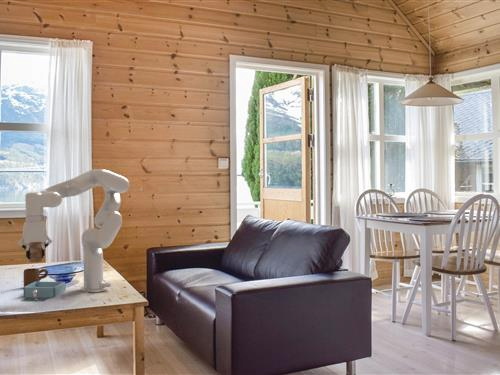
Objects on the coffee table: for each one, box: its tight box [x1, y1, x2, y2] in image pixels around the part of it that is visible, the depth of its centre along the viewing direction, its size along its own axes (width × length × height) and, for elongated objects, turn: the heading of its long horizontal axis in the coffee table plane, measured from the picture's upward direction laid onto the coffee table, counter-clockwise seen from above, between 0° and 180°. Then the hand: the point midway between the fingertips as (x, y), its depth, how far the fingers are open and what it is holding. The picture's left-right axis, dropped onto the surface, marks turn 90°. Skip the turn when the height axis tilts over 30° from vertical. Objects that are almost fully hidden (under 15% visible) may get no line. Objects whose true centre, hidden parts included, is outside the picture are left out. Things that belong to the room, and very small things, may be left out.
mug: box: [23, 267, 49, 287], centre depth 264 cm, size 12×8×9 cm, turn 123°
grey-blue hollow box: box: [20, 290, 50, 302], centre depth 234 cm, size 11×7×5 cm, turn 89°
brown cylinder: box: [28, 242, 43, 263], centre depth 234 cm, size 5×5×9 cm
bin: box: [23, 281, 67, 298], centre depth 245 cm, size 15×13×6 cm
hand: (35, 257), depth 234 cm, fingers closed on brown cylinder, 5 cm apart
